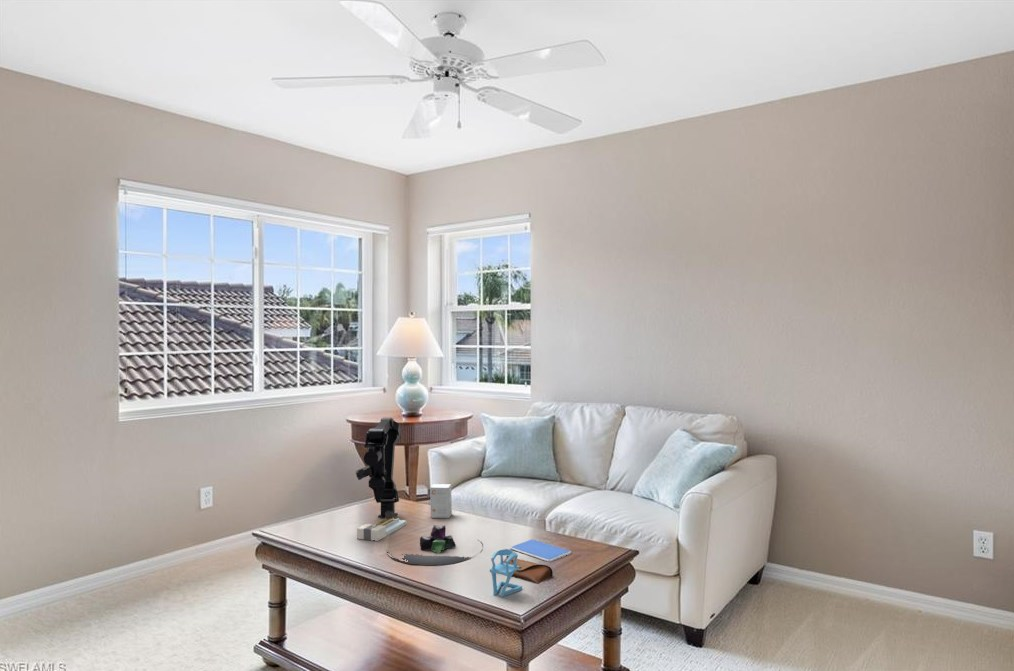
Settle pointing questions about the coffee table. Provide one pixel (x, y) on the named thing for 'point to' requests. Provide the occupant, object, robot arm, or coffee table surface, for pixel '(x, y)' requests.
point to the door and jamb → (379, 530)
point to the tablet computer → (541, 550)
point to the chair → (504, 572)
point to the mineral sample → (434, 549)
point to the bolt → (386, 518)
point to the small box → (440, 500)
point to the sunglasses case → (531, 571)
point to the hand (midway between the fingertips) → (378, 498)
